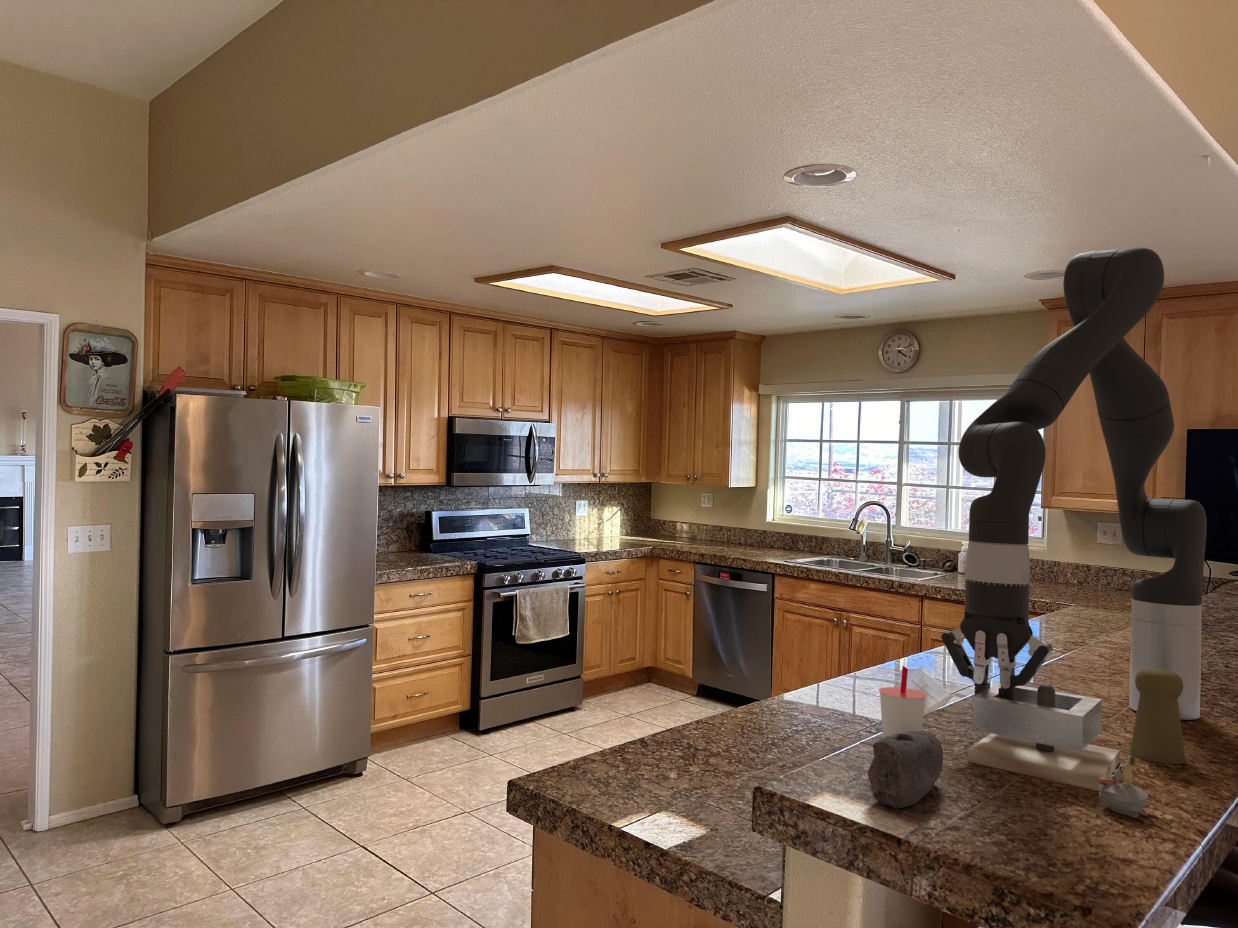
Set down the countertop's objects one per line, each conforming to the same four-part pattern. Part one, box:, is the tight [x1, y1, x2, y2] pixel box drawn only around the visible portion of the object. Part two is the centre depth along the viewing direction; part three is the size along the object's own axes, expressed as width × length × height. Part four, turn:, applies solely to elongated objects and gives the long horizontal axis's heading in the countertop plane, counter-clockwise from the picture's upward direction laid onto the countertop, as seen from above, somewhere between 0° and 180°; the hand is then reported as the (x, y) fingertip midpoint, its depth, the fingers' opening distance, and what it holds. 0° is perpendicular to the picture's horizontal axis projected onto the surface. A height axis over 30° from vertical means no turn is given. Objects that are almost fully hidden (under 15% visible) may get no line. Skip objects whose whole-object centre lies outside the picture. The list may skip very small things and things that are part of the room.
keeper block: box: [967, 683, 1121, 792], centre depth 103 cm, size 14×14×10 cm
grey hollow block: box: [971, 681, 1103, 752], centre depth 104 cm, size 12×12×4 cm
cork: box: [1129, 668, 1187, 765], centre depth 108 cm, size 6×6×11 cm
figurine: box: [1098, 754, 1149, 819], centre depth 88 cm, size 5×4×6 cm
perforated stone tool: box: [867, 730, 944, 809], centre depth 90 cm, size 15×5×7 cm, turn 138°
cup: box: [878, 665, 928, 739], centre depth 99 cm, size 5×5×12 cm
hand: (993, 714), depth 107 cm, fingers closed on grey hollow block
